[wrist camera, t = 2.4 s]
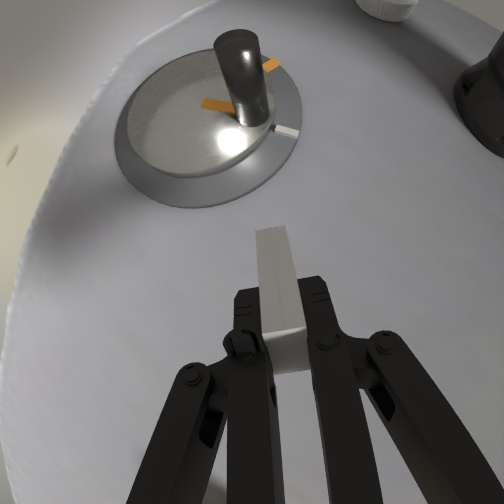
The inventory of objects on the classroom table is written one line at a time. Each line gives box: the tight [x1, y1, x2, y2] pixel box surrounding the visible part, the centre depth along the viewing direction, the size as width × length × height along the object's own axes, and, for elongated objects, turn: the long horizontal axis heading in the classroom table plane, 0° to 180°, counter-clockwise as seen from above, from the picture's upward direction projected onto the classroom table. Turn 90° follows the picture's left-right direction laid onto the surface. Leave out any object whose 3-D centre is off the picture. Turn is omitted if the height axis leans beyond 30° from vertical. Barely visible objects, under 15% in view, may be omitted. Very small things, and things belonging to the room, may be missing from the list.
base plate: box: [115, 48, 302, 209], centre depth 35 cm, size 24×24×2 cm
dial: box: [127, 29, 276, 179], centre depth 28 cm, size 18×18×13 cm
